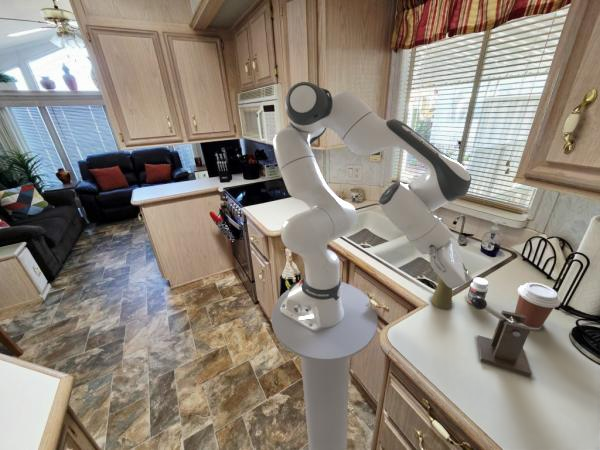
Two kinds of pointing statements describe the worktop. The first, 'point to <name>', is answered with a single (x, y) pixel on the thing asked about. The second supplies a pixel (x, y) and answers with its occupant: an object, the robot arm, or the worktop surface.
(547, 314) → the coffee cup
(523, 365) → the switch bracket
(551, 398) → the worktop surface
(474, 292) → the pill bottle
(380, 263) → the worktop surface
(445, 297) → the olive tapered figurine
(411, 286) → the worktop surface
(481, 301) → the lever
